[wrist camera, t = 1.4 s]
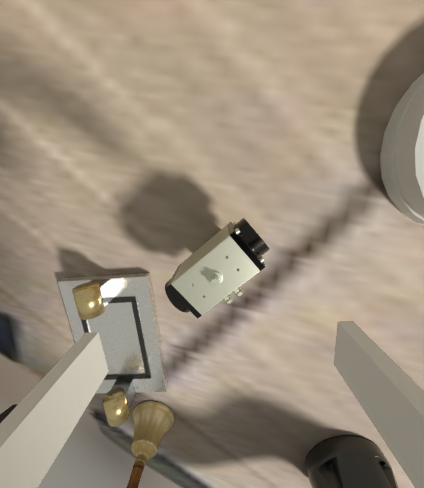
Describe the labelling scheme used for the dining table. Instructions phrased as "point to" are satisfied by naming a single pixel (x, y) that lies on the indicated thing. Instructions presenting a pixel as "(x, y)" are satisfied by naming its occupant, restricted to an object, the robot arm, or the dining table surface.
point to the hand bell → (148, 434)
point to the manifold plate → (119, 334)
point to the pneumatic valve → (217, 269)
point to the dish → (406, 153)
